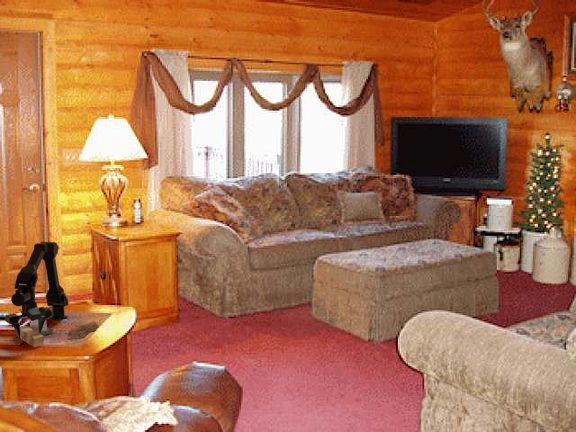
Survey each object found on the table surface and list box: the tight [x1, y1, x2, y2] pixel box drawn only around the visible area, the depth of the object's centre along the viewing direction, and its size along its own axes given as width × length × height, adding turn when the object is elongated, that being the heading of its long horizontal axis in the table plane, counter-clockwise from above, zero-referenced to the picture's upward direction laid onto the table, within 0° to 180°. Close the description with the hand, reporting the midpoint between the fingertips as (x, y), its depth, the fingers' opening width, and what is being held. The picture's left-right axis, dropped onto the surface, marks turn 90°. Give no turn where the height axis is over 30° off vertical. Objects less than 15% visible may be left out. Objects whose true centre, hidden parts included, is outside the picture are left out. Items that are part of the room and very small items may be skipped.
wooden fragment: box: [67, 321, 100, 340], centre depth 324 cm, size 26×11×1 cm, turn 167°
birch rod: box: [16, 325, 44, 348], centre depth 309 cm, size 18×4×4 cm, turn 43°
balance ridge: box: [27, 319, 54, 336], centre depth 321 cm, size 12×8×6 cm, turn 43°
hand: (29, 334), depth 309 cm, fingers open, 9 cm apart
